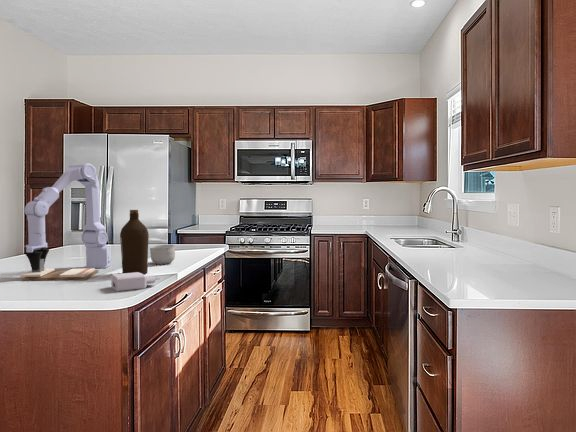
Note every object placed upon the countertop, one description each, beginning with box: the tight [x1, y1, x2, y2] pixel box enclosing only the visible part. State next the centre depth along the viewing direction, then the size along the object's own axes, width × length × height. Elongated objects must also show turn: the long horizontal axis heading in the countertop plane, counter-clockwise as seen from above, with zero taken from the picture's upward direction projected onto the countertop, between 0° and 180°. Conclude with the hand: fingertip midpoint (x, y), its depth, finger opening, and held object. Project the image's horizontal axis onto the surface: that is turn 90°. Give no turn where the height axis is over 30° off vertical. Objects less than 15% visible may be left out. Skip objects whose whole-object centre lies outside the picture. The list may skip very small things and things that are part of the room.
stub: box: [19, 259, 56, 278], centre depth 186 cm, size 7×14×5 cm, turn 6°
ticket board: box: [22, 269, 99, 282], centre depth 187 cm, size 22×16×1 cm
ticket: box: [59, 268, 96, 277], centre depth 187 cm, size 9×14×1 cm, turn 6°
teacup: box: [149, 244, 176, 265], centre depth 221 cm, size 14×11×8 cm
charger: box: [110, 272, 160, 293], centre depth 167 cm, size 5×9×15 cm
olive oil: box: [119, 209, 149, 275], centre depth 193 cm, size 11×11×25 cm
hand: (37, 269), depth 186 cm, fingers closed on stub, 4 cm apart
